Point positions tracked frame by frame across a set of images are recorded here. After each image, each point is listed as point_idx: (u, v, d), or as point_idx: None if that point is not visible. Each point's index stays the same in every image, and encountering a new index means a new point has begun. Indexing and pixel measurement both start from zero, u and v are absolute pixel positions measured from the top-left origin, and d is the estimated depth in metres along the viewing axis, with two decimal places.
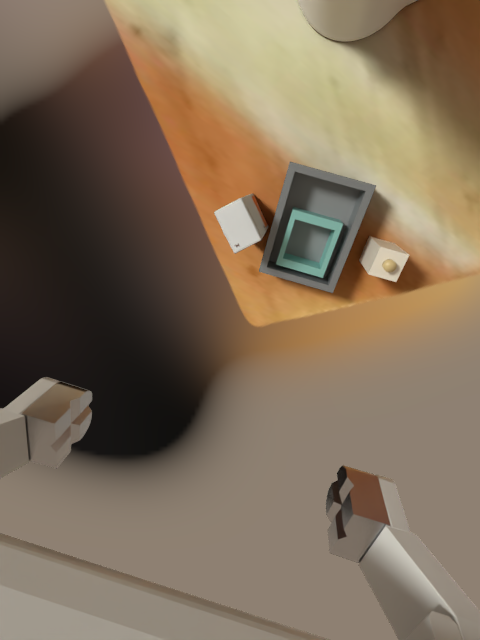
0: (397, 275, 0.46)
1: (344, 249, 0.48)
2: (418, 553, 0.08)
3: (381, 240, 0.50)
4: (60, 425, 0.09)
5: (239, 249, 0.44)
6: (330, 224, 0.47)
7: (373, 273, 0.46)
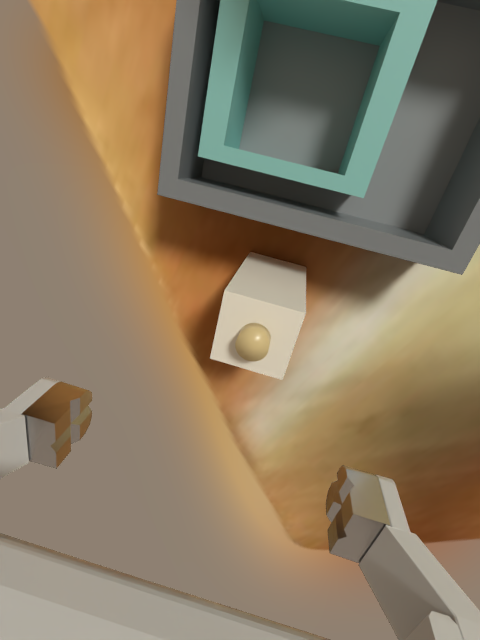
0: (227, 359, 0.17)
1: (287, 211, 0.16)
2: (418, 553, 0.08)
3: None
4: (60, 425, 0.09)
5: None
6: (366, 155, 0.15)
7: (227, 303, 0.16)
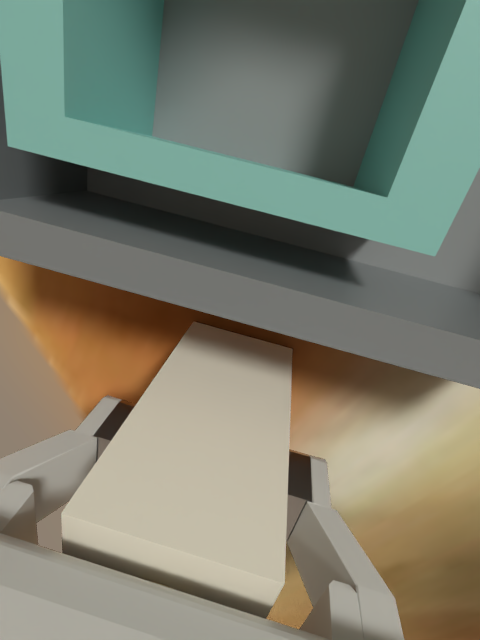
0: None
1: (238, 285, 0.07)
2: (334, 527, 0.08)
3: None
4: None
5: None
6: (453, 143, 0.05)
7: (77, 538, 0.06)
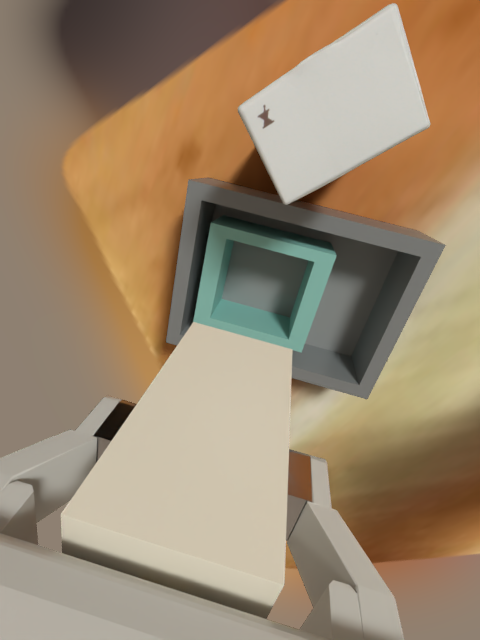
0: None
1: None
2: (334, 527, 0.08)
3: None
4: None
5: (252, 127, 0.13)
6: (301, 330, 0.24)
7: (77, 539, 0.06)
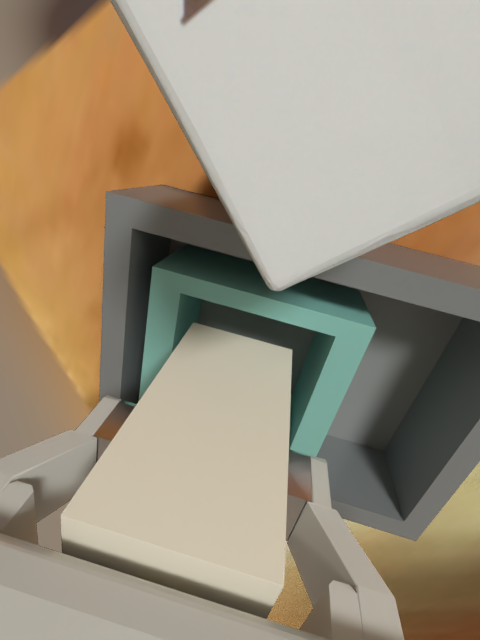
0: None
1: None
2: (334, 527, 0.08)
3: None
4: None
5: (144, 21, 0.03)
6: (310, 438, 0.14)
7: (76, 540, 0.06)
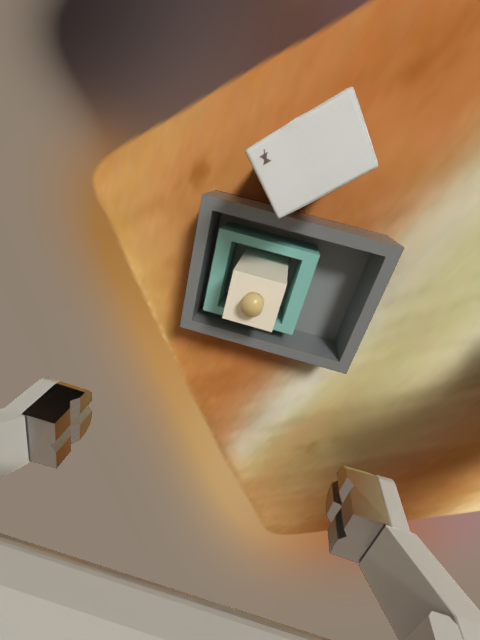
0: (234, 318, 0.25)
1: (252, 339, 0.30)
2: (418, 553, 0.08)
3: None
4: (60, 425, 0.09)
5: (255, 164, 0.18)
6: (292, 316, 0.29)
7: (235, 278, 0.24)
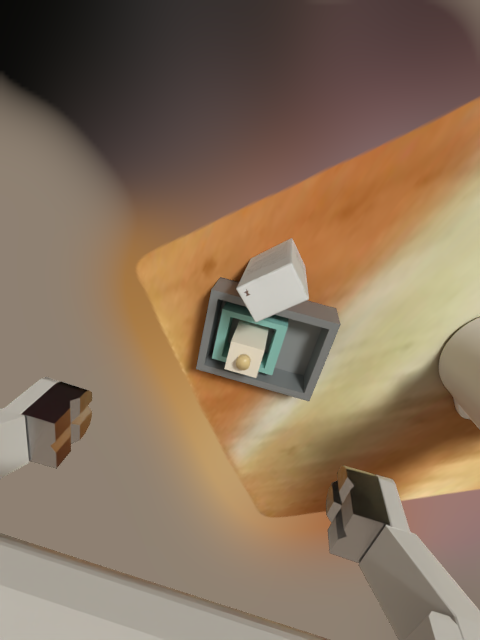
0: (232, 369, 0.40)
1: (245, 378, 0.44)
2: (418, 553, 0.08)
3: None
4: (60, 425, 0.09)
5: (242, 295, 0.32)
6: (271, 363, 0.43)
7: (232, 346, 0.38)
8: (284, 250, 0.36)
